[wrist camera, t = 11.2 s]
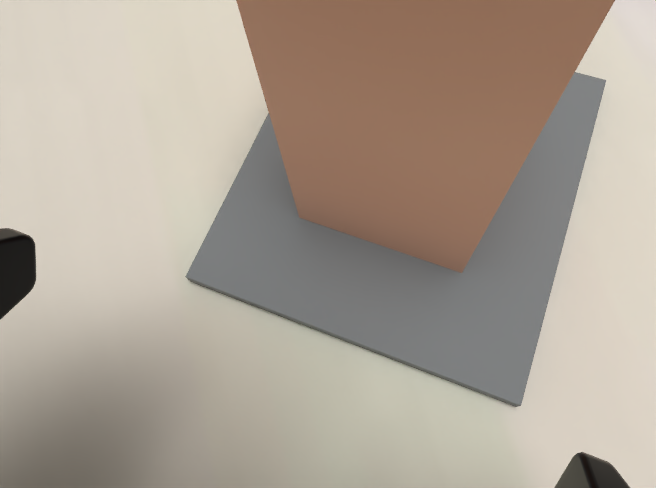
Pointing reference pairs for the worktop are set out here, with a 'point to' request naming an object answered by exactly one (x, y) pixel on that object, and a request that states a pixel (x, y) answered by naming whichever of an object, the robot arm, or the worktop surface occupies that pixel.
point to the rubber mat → (411, 263)
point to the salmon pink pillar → (412, 108)
